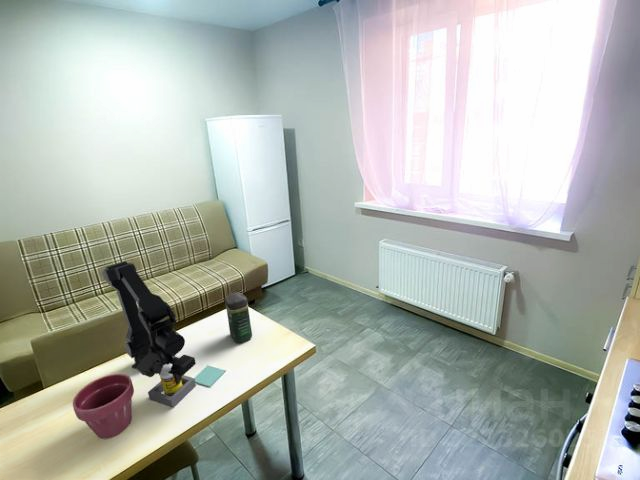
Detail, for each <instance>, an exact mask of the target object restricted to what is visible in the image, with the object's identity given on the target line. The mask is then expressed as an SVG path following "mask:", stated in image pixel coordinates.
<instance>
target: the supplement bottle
mask: <svg viewBox="0 0 640 480" xmlns="http://www.w3.org/2000/svg"><path fill="white" fill-rule="evenodd" d="M171 367H172V364H169V365H167V364H165V365H163V368H162V369H161V372H160V375H159V378H160V381H161V382H162V386H163V390H164V391H163V392H164V393H163V394H165V395H168V396H170V397H172V396H173V395H174V394H175V393H176V392H177V391H178V390H179V389H180V388H181V387H182V386H183V385H182V381H180V383H179V384H178V385H177V384H176V382H175V379H174V376H173V374H170V373H168V372H169V371H170V370H171Z"/></svg>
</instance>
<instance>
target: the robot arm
mask: <svg viewBox="0 0 640 480" xmlns="http://www.w3.org/2000/svg"><path fill="white" fill-rule="evenodd" d="M102 276H103V279H104V280H105V282H107V285H109V286H110V287H111V288H113V289H114V290H115V291H116V294H117V296H118V297H117V298H118V299H119V303H120V307H121V309H122V312H123V315H124V319H125V322H126V324H127V328H128V330H127V332H126V335H125V340H126V344H125V347H124V349H125V352H126V354H127V355H128V356H129V357H130V359H133V360H134V364H132V365H131V368H132V369H135V370H137V371H138V372H139V373H140V374H141V375H142V376H145V377H147V378H153V377H154V376H155V375H158V376H160V372H161V369H162V368H163V365H165V364H167V365H169V364H172V367H171V370H170V371H169V372H168V373H170V374H173V376H174V379H175V382H176V384H177V385H178V384H179V383H180V381H181V378H182V375H185V374H186V373H187V372H188V371H190V370H191V369H192V368H193V367H195V365H197V363H196V358H195V357H194V356H190V355H187V354H183V355H181V356H180V357H179V356H176V355H177V354H179V353H180V352H181V351H182V350H183V348H184V346H185V343H186V340H185V338H184V336H183V335H181V334H180V333H179V332H177V330H175V329H174V328H173V325H174V324H176V323H177V320H176V314H175V313H174V311H173V309H172V307H171V306H170V305H169V304H168V302H166V301H164V300H163V298H162V297H161V296H160V295H158V294H154V293H152V291H151V290H150V289H149V288H148V286H147V285H146V283H145V281H144V280H143V279H142V277H141V276H140V274H139V273H138V272H137V268H136V266H135V263H134V262H127V261H126V260H124V261H120V262H118V263H114V264H111V265H108V266H104V270H103V271H102Z"/></svg>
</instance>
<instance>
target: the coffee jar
mask: <svg viewBox="0 0 640 480" xmlns="http://www.w3.org/2000/svg"><path fill="white" fill-rule="evenodd" d="M224 304H225V308H226V314H227V315H226V317H227V322H228V329H229V335H230V338H231V339H232V340H233V341H234V342H235V343H236V344H237V343H245V342H247V341H249V340H250V339H252V337H253V331H252V325H251V319H250V312H249V302H248V298H247V296H246V295H245V294H243V293H242V292H238V291H234V292H231V293H228V294H227V295H226V296H225V298H224Z"/></svg>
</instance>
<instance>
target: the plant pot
mask: <svg viewBox="0 0 640 480" xmlns="http://www.w3.org/2000/svg"><path fill="white" fill-rule="evenodd" d="M132 381H133V380H132V378H131V377H130V376H129V375H127V374H125V373H112V374H108V375H105V376H102V377H99V378H97V379H95V380H92V381H91V382H90V383H88V384H87V385H85V386H84V387H83V388H81V389H80V390H79V391H78V392H77V394H75V396H74V398H73V401H72V408H73V411H74V414H75V415H76V418H77V419H78V420H80V421H82V422H84V423H85V424H86V425H87V426H88V427H89V429H90V430H91V431H92V432H93V433H94V434H95V436H96V437H97V438H99V439H103V440H107V439H111V438H114V437H116V436H118V435H120V434H121V433H123V432H124V431H125V430H126V429H127V428H128V427H129V426H130V424H131V423H132V416H133V415H132V411H133V409H132V404H133V401H132V399H133V396H134V393H135V389H134V384H133V382H132Z"/></svg>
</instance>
